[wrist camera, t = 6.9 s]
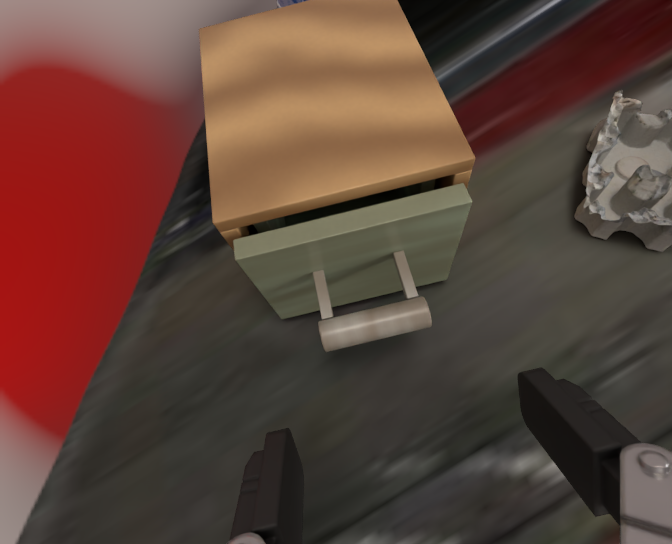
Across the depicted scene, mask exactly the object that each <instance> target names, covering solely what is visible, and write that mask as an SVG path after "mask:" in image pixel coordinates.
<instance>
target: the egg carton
mask: <svg viewBox="0 0 672 544" xmlns="http://www.w3.org/2000/svg"><path fill="white" fill-rule="evenodd" d="M622 92H623V91H621V90H618V91H616V93H614V94H613V95H614V97H613V99H614V101H613V104H612V106H611V111H610V113H609V115H608V118H606V119H604V120H602V121H600V122H599V123H598V124H597V125H596V126H595V129H594V130H593V132H592V135H591V137H590V139H589V142H588V144H587V150H588V151H591V152H592V153H593V154H592V156H591V159H590V162H589V163H588V164H587V167H586V168H585V169H584V171H583V173H582V175H583V182H582V184H583V185H584V186H586V187H587V188H586V193H587V196H586V198H585V199H583V201H582V203H581V204H580V205H579V206H578V207H577V210H576V213H575V219H576V220H578V221H579V222H581V223H583V224H584V225H585V226H586V227H587V228H588V231H589V233H590V234H591V235H592V236H594V237H598V238H602V239H604V240H606V239H607V238H608V237H609V236H610V235H611V234H612V233H613V232H614V231H619V230H622V231H627V232H632V233H633V234H635V235H636V236H637V237H639V238H640V239H641V240H642V241H643V242H644V244H645V246H646V248H648V249H653V250H657V251H664V250H665V249H667V248H668V247H669V246H670V245H672V110H668V109H666V110H664V111H661V112H660V113H659V114H658V115H650V114H641V113H640V111H641V106H642V102H641V101H638V100H636V99H630V98H624V97H622V96H623V95H622Z"/></svg>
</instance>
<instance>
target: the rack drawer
mask: <svg viewBox="0 0 672 544" xmlns="http://www.w3.org/2000/svg"><path fill="white" fill-rule="evenodd" d="M434 185H435V179H433V180H429V181H425V182H421V183H417V184H413V185H409V186H405V187H401V188H397V189H393V190H389V191H385V192H381V193H377V194H373V195H369V196H364V197H360V198H356V199H352V200H348V201H344V202H340V203H336V204H332V205H328V206H324V207H320V208H316V209H312V210H308V211H304V212H300V213H296V214H292V215H288V216H284V217H280V218H276V219H272V220H268V221H264V222H260V223H256V224H253V225H254V227H255V228H256V230H257V232H258V234H255V235H251V236H247V237H243V238H239V239H235V240H233V245H234V255H235V261H236V262H237V263H238V264H239V266H240V267H241V268H242V269H243V271H244V272H245V273H246V275H247V276H248V277H249V278H250V280H251V281H252V282H253V283H254V285H255V286H256V287H257V288H258V290H259V291H260V292H261V294H262V295H263V296H264V297H265V299H266V300H267V301H268V302H269V304H270V305H271V306H272V308H273V309H274V310H275V311H276V313H277V314H278V315H279V316H280V318H281V319H286V318H290V317H294V316H298V315H302V314H306V313H310V312H315V311H319V310H320V312H321V317H322V321H319V323H318V326H319V332H320V337H321V341H322V345H323V348H324V350H325V352H329V351H333V350H337V349H341V348H345V347H349V346H354V345H358V344H362V343H366V342H370V341H375V340H379V339H383V338H387V337H391V336H395V335H400V334H404V333H408V332H412V331H416V330H420V329H425V328H429V327H431V325H432V320H431V314H430V310H429V307H428V304H427V302H426V300H425V298H424V297H422V296H421V297H418V293H417V290H416V287H418V286H422V285H426V284H430V283H434V282H438V281H443V280H447V278H448V275H449V272H450V269H451V266H452V263H453V259H454V256H455V253H456V250H457V247H458V244H459V241H460V238H461V235H462V232H463V229H464V225H465V222H466V219H467V216H468V213H469V210H470V207H471V204H472V200H471V198H470V196H469V194H468V191H467V189H466V187H465V185H464V183H461V184H457V185H453V186H449V187H445V188H440V189H436V190H434ZM401 290H403V291H404V295H405V298H406V300H405V301H401V302H396V303H392V304H388V305H384V306H380V307H376V308H372V309H367V310H363V311H359V312H355V313H351V314H347V315H343V316H338V317H334V315H333V310H332V307H335V306H339V305H343V304H348V303H352V302H356V301H360V300H364V299H368V298H372V297H377V296H381V295H385V294H389V293H393V292H397V291H401Z"/></svg>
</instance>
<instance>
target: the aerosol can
mask: <svg viewBox="0 0 672 544" xmlns="http://www.w3.org/2000/svg"><path fill="white" fill-rule="evenodd" d="M304 1H308V0H277V6H278V8H281V7H285V6H289V5H292V4H296V3H300V2H304Z"/></svg>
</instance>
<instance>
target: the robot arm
mask: <svg viewBox="0 0 672 544" xmlns="http://www.w3.org/2000/svg"><path fill="white" fill-rule="evenodd" d="M518 386H519V396H520V406H521V412H522V416H523V418H524V421H525V423H526V425H527V427H528V428H529V430H530V431H531V432H532V434H533V435H534V436H535V438H536V439H537V440H538V441H539V443H540V444H541V445H542V447H543V448H544V449H545V451H546V452H547V453H548V455H549V456H550V457H551V459H552V460H553V461H554V463H555V464H556V465H557V467H558V468H559V469H560V471H561V472H562V473H563V474H564V476H565V477H566V478H567V480H568V481H569V482H570V484H571V485H572V486H573V488H574V489H575V490H576V492H577V493H578V494H579V496H580V497H581V498H582V500H583V501H584V502H585V504H586V505H587V506H588V507H589V509H590V510H591V511H592V513H593V514H594V515H595V517H597V516H601V515H605V514H611V515H612V517H613V518H614V519H615V520H616V522H617V523H618V524H619V525H620V544H672V452H671V451H669V450H667V449H665V448H663V447H660V446H656V445H653V444H646V443H641V442H640V441H639V440H638V439H637V438H636V437H635V436H634V435H632V434H631V433H630V432H629V431H628V430H627V429H626V428H625V427H624V426H623V425H621V424H620V423H619V422H618V421H617V420H616V419H615V418H614V417H613V416H612V415H610V414H609V413H608V412H607V411H606V410H605V409H602V406H601V405H599V404H598V403H597V402H596V401H595V400H593V399H592V397H591V396H589V395H588V394H587V393H586V392H585V391H584V390H583V389H582V388H581V387H579V386H577V385H575V384H573V383H571V382H569V381H567V380H565V379H560V380H555V379H554V378H553V377H552V376H551V375H550V374H549V373H548V372H547V371H546V370H545V369H543V368H537V369H533V370H528V371H524V372H520V373H519V374H518ZM303 496H304V475H303V468H302V464H301V460H300V457H299V454H298V451H297V448H296V446H295V443H294V440H293V437H292V434H291V431H290V429H289V428H286V429H281V430H277V431H273V432H269V433H267V434H266V439H265V445H264V450H262V451H257V452H254V453H253V455H252V457H251V458H250V460H249V461H248V463H247V464H246V466H245V471H244V476H243V483H242V485H241V490H240V495H239V499H238V504H237V508H236V513H235V518H234V522H233V527H232V532H231V536H230V540H229V542H228V543H227V544H302V528H303Z"/></svg>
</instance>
